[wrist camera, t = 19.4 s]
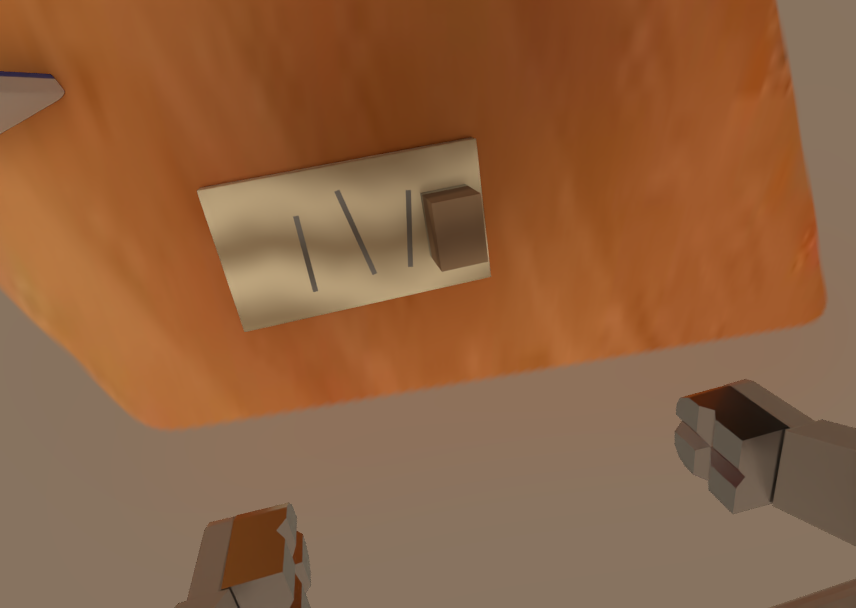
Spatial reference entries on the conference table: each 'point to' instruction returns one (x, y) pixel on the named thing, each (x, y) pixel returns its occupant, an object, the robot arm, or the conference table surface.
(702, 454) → the robot arm
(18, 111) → the hard drive
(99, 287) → the conference table surface
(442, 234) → the block
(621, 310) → the conference table surface
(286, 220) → the board
